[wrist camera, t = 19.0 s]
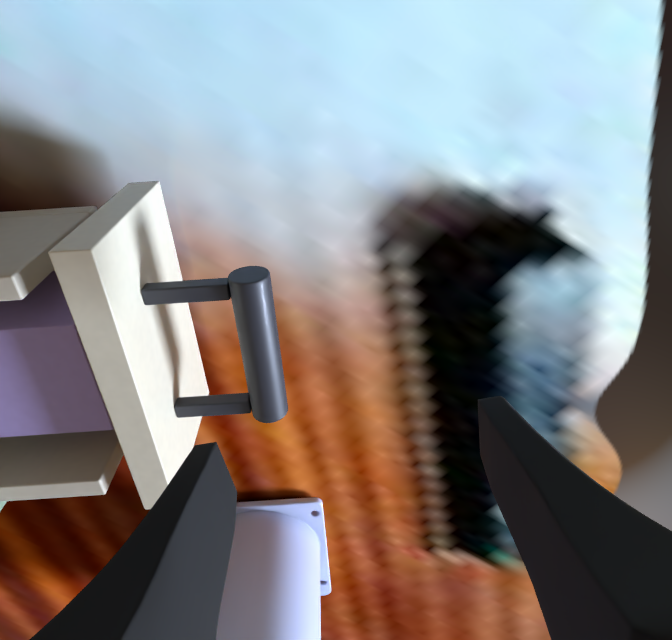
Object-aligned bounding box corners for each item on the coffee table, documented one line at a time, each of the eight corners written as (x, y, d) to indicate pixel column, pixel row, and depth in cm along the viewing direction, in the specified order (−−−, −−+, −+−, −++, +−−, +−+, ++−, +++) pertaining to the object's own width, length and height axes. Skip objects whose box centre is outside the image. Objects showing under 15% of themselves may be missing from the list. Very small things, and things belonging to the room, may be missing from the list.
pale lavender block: (113, 430, 18) (-11, 438, 18) (148, 359, 22) (47, 365, 22) (73, 325, 16) (-68, 334, 16) (120, 266, 20) (7, 273, 20)
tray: (271, 173, 19) (252, 238, 13) (296, 387, 25) (291, 500, 19) (-166, 201, 19) (-377, 279, 13) (-46, 409, 24) (-159, 530, 19)
